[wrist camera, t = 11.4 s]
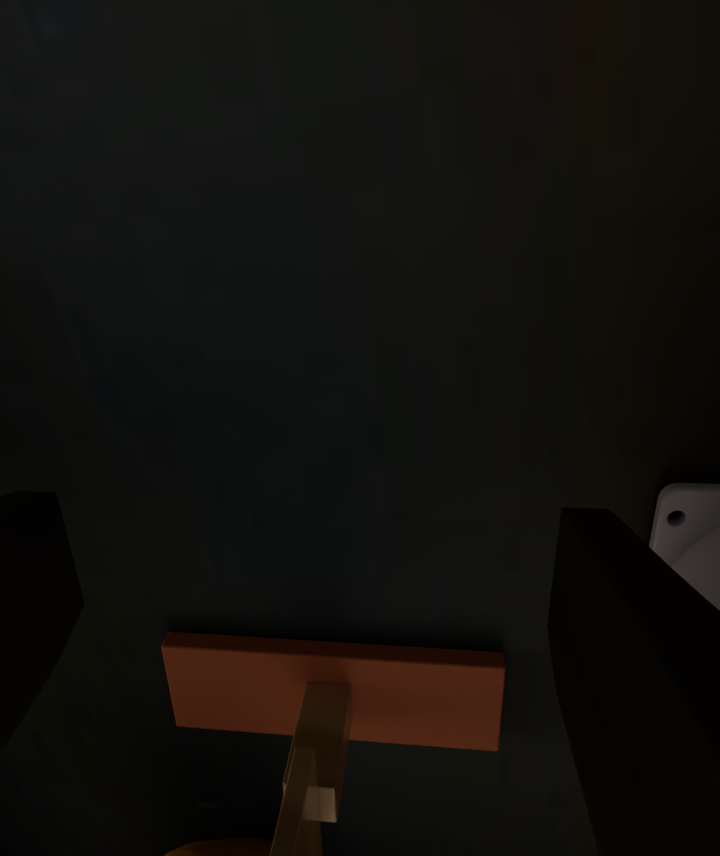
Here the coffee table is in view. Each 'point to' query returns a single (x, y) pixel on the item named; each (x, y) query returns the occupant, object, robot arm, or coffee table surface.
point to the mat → (341, 665)
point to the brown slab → (314, 770)
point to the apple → (226, 847)
